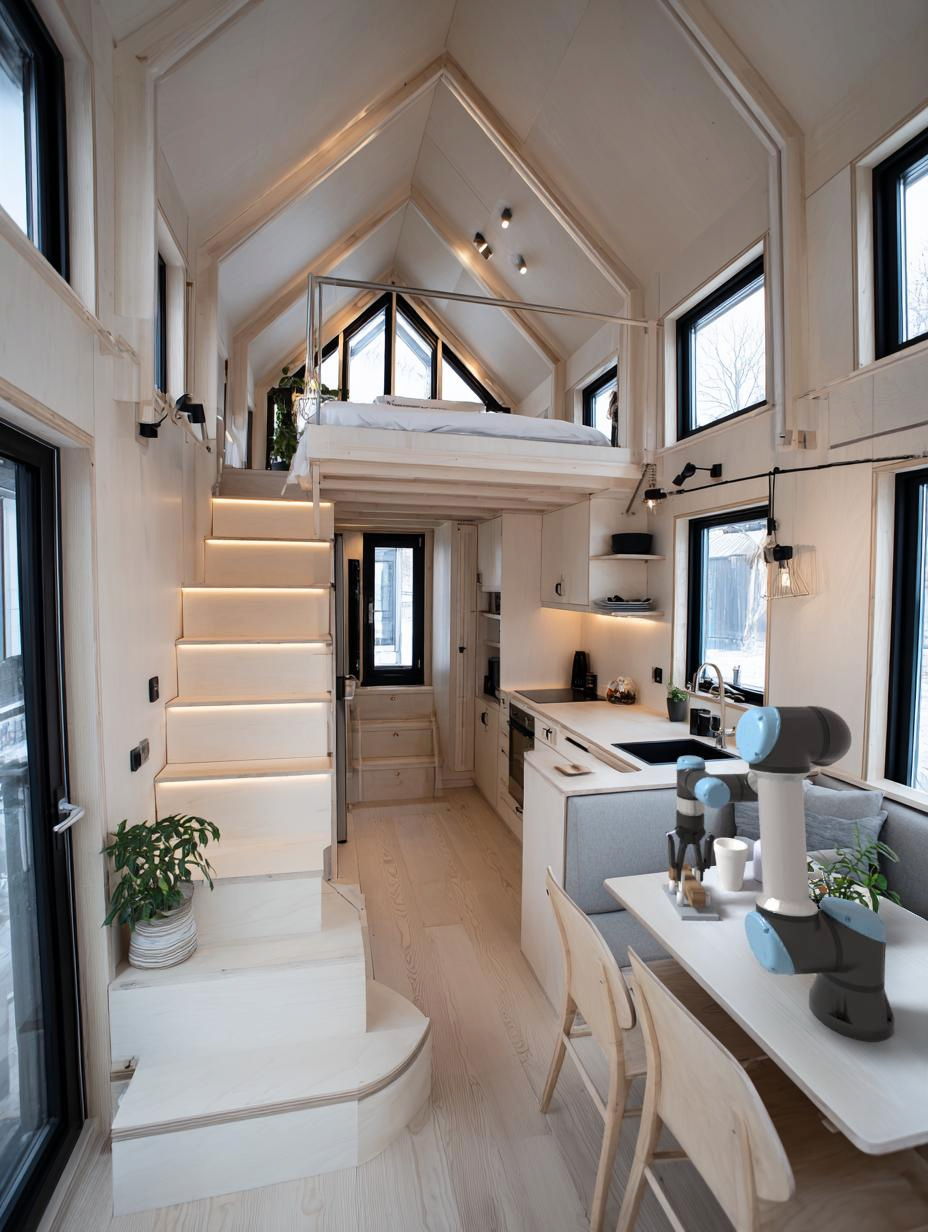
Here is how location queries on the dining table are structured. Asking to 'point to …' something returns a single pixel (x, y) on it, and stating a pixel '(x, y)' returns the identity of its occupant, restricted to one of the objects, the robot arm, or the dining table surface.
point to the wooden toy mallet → (690, 887)
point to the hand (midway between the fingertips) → (689, 891)
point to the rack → (688, 904)
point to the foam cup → (730, 862)
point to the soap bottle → (757, 861)
